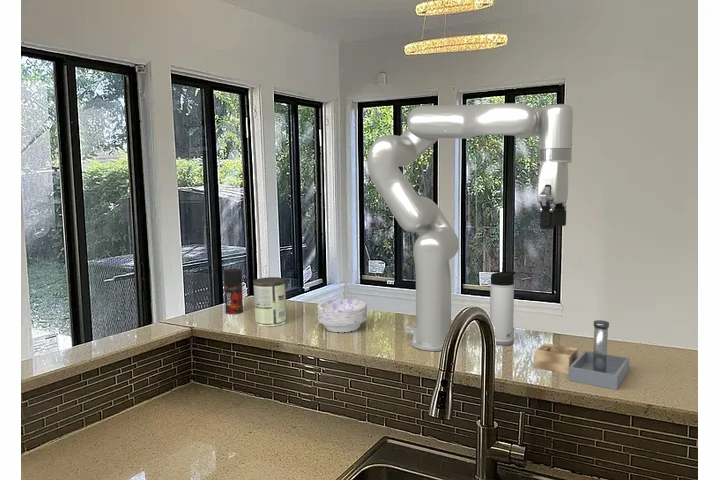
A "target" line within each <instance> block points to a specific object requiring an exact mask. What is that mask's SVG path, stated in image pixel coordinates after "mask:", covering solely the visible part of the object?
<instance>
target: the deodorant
mask: <svg viewBox="0 0 720 480" xmlns="http://www.w3.org/2000/svg"><path fill="white" fill-rule="evenodd" d="M242 276H243V275H242V269H241V268H228V269H224V270H223V277H224V278H223V279H224V280H223V282H224V301H225V302H224V304H225V306H224V307H225V314H227V315H239V314H243V312H244V304H243V303H244V302H243V301H244V300H243V299H244V298H243V281H242V280H243V277H242Z"/></svg>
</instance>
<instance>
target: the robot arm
mask: <svg viewBox="0 0 720 480" xmlns="http://www.w3.org/2000/svg"><path fill="white" fill-rule="evenodd" d="M573 116H574V112H573V108H572V106H571V105H570V104H566V103H565V104H564V103H558V104H557V103H556V104H555V103H554V104H548V105H544V106H542V107H541V108H536V107H535V108H534V107H531V106H530V105H528V104H526V103H521V102H520V103H518V102H517V103H516V102H511V103H510V102H508V103H506V102H505V103H499V102H498V103H480V104H447V105H445V104H443V105H442V104H441V105H440V104H438V105H435V104H434V105H432V104H431V105H419V106H416V107H414V108H413V109H412V110H411V111H409V113H408V115H407V120H406V124H407V129H406V130H405V131H404V132H403V133H402V134H401V135H395V134H385V135H382V136H379V137H378V138H377V139H375V140H374V142H372V144H371V146H370V148H369V150H368V154H367V159H366V165H367V172H368V175H369V177H370V179H371V181H372V183H373V184H374V186H375V188H376V189H377V191H378V193H379V194H380V196H381V197H382V199H383V200H384V202H385V204H386V205H387V207H388V209H389V210H390V212H391V213H392V215H393V217H394V218H395V220H396V222H397V223H398V225H399V226H400V227H401V228H402V229H403V230H404V231H406V232H411V233H412V232H413V233H414V232H416V234H417V235H418V237H417V239H416V240H415V242H414V244H413V252H412V255H413V261H414V271H415V326H414V325H410V324H407V325H406V326H405V328H404V329H405V330H404V333H405V334H408V335H411V336H412V337H411V339H410V345H411V346H412V348H416V349H419V350H422V351H433V352H439V351H440V352H442V351H441V349H442V344H443V341H444V338H445V336H446V334H447V332H448V330H449V327H450V325H451V326H452V279H451V277H452V275H451V267H450V260H451V259H453V258H454V257H455V256H456V255H457V253H458V252H459V248H460V242H459V237H458V235H457V233H456V231H455V230H454V228H453V227H452V226H451V224H450V222H449V221H448V220H447V218H446V217H445V215H444V213H443V211H442V210H441V209H440V207H439V206H438V204H436V203H435V202H434V201H433V200H432V199H430V198H429V197H426V196H422V195H421V196H420V195H419V194H418V193H417V192H416V190H415V188H413V186H412V184H411V182H410V181H409V179H408V178H407V177H406V176H405V175H404V173H403V172H402V171H401V169H400V168H401V167H406V166H407V167H408V166H410V165H411V164H413V163H414V162H415V161H417V159H419V158H420V157H421V156H422V155H423V154H425V152H427V150H429V149H430V148H431V147H432V146H433V145H434V144H435V143H436V142H437V141H438V140H439V139H460V140H461V139H462V140H463V139H472V138H475V137H478V136H514V137H517V138H520V139H527V138H532V137H533V138H534V137H538V164H540V165H539V170H538V179H537V194H536V201H537V203H538V204H539V206H540V208H539V210H540V211H539V212H540V214H539V217H540V220H539V227H540V229H541V230H554V229H555V227H558V226H559V227H565V226H566V225H567V201H568V197H569V168H568V167H569V165H568V164H569V163H572V157H573V154H572V153H573V150H572V149H573V147H572V146H573V121H574V120H573V119H574V117H573ZM399 167H400V168H399Z"/></svg>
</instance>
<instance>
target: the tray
mask: <svg viewBox="0 0 720 480" xmlns="http://www.w3.org/2000/svg"><path fill="white" fill-rule="evenodd" d="M593 354H594V351H589V350H584V351H583V352H582V353H581V354H580V355H578V358H577V359H576V360H575V361H574V362H573V363H572V364H571V365H570V366H569V374H568V381H570V382H575V383H580V384H585V385H589V386H595V387H598V388H604V389H610V390H615V391H617V390H618V388H619V387H620V386H621V384H622V383H623V380H625V378H626V377H627V374H629V372H630V357H625V356H624V357H623V356H620V355H619V356H618V355H614V354H613V355H612V354H608V353H607V364H606V373H603V372H597V371H593Z"/></svg>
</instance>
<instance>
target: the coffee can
mask: <svg viewBox="0 0 720 480" xmlns="http://www.w3.org/2000/svg"><path fill="white" fill-rule="evenodd" d="M286 281H287V279H286V278H284V277H279V276H278V277H277V276H276V277H275V276H272V277H271V276H269V277H260V278H256V279H254V280H252V282H253V283H252V284H253V295H254V296H253V297H254V298H253V300H254V319H255V320H254V321H255V326H258V327H263V328H264V327H265V328H266V327H267V328H270V326H273V327H278V326H283V325H285V324H286V323H288V320H287V316H288V315H287V301H286V299H287V296H286V295H287V292H286Z"/></svg>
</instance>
